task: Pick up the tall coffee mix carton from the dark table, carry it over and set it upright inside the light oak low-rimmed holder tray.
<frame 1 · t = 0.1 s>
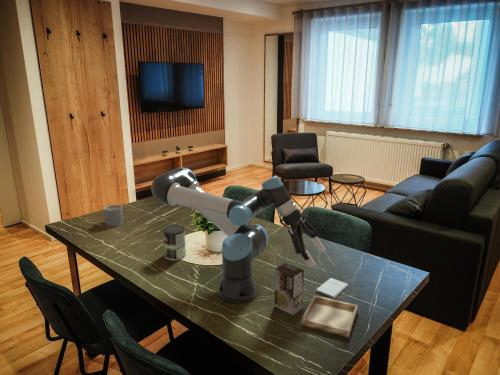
hand: (317, 258, 153), 15 cm above the table, tool tilted 35°, fingers open, 13 cm apart
holder: (330, 317, 142), on the table
coffee mug: (113, 223, 230), on the table
external hard drive: (331, 290, 161), on the table
coffee can: (175, 256, 189), on the table
coffee box: (288, 307, 148), on the table
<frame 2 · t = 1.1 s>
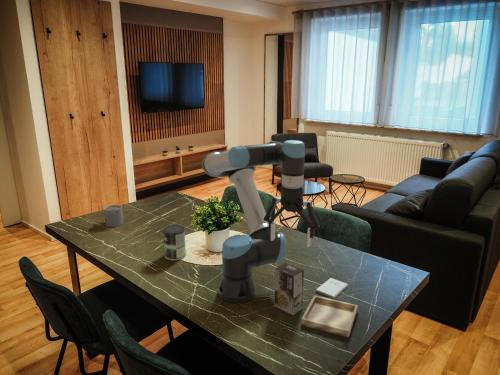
hand: (290, 242, 140), 27 cm above the table, tool pointing down, fingers open, 13 cm apart
nothing on the table moved.
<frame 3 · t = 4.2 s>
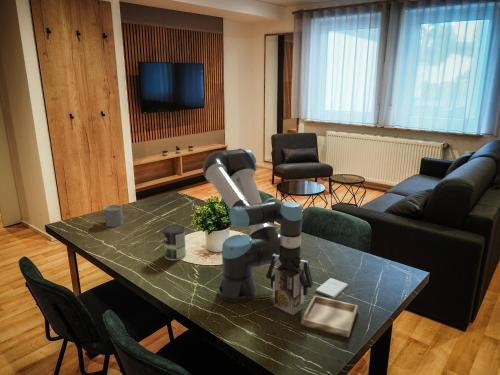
hand: (288, 298, 147), 4 cm above the table, tool pointing down, fingers closed on coffee box, 10 cm apart
coffee box: (288, 307, 148), on the table, touching gripper
everything else where it was.
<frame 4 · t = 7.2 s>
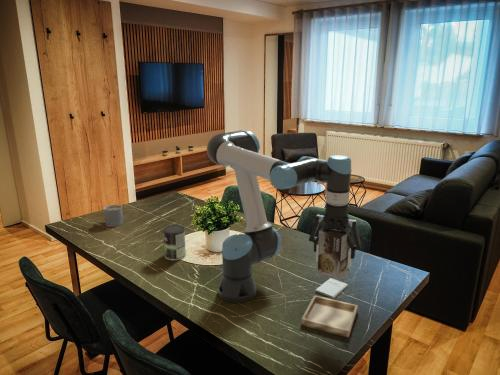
hand: (333, 263, 135), 22 cm above the table, tool pointing down, fingers closed on coffee box, 10 cm apart
coffee box: (332, 273, 136), point 18 cm above the table, touching gripper
everything else where it was.
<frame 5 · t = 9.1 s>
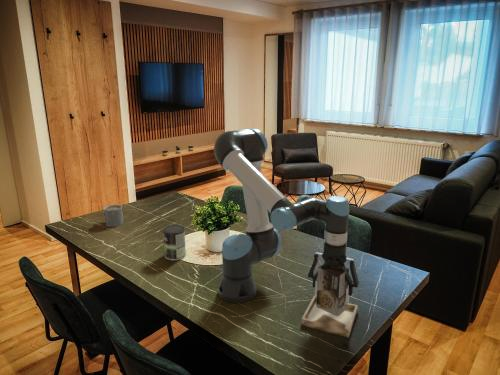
hand: (331, 298, 139), 8 cm above the table, tool pointing down, fingers closed on coffee box, 10 cm apart
coffee box: (331, 308, 140), point 4 cm above the table, touching gripper
everything else where it was.
when the fingers open (6 cm above the table, at t = 10.4 s): coffee box drops 1 cm, resting on holder.
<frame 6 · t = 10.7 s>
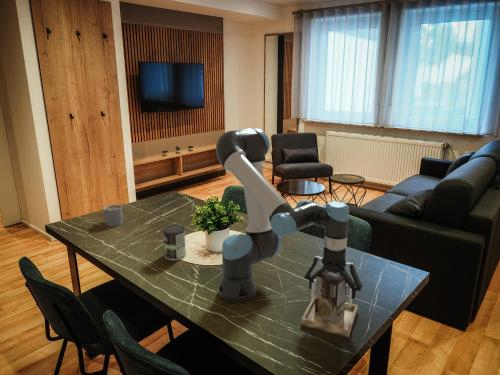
hand: (331, 301, 140), 7 cm above the table, tool pointing down, fingers open, 13 cm apart
coffee box: (329, 316, 141), point 1 cm above the table, touching holder
everything else where it was.
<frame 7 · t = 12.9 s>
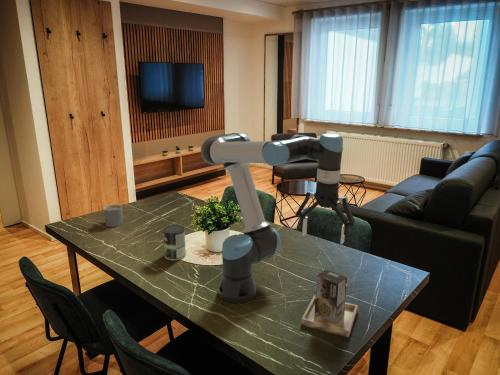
hand: (322, 238, 137), 29 cm above the table, tool pointing down, fingers open, 13 cm apart
nothing on the table moved.
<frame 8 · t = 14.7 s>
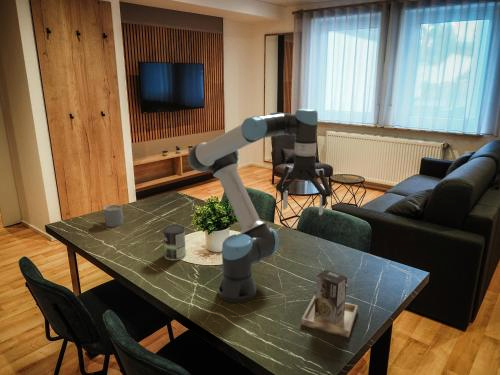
hand: (302, 211, 143), 37 cm above the table, tool pointing down, fingers open, 13 cm apart
nothing on the table moved.
at the end: coffee box inside the target area on the holder (0.4 cm from its centre), point 0.6 cm above the holder's base; coffee box tilted 0°; the gripper is holding nothing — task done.
